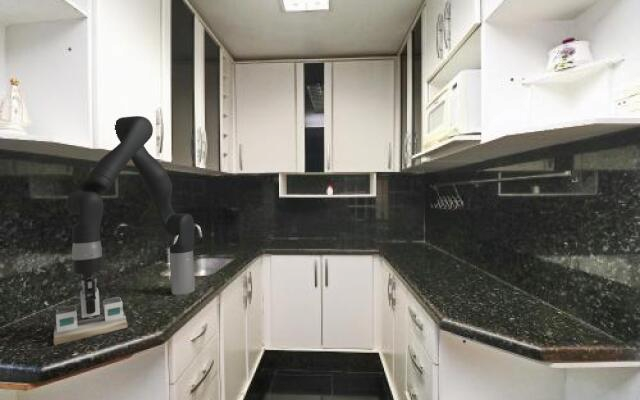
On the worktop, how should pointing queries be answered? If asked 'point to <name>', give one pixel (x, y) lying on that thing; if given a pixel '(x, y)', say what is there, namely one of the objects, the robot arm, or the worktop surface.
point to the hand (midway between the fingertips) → (90, 310)
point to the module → (83, 304)
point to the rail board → (88, 322)
